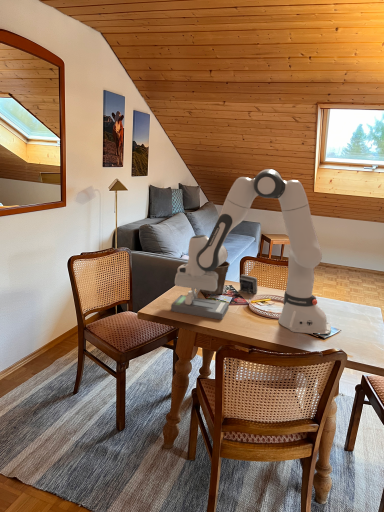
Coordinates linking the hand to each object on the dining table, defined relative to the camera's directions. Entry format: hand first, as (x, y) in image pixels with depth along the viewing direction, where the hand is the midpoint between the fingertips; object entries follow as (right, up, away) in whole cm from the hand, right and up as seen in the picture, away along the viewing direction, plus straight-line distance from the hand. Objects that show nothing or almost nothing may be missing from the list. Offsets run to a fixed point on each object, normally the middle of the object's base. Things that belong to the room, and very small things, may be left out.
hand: (195, 297), depth 186 cm
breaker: (-3, -2, -5) cm, 6 cm away
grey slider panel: (+2, -6, -3) cm, 7 cm away
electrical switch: (+29, 0, +26) cm, 38 cm away
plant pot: (+9, 0, +23) cm, 25 cm away
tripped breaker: (-2, -1, +1) cm, 3 cm away
